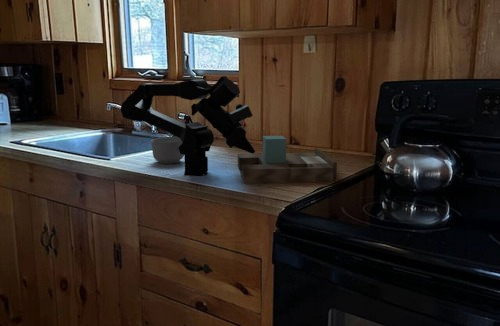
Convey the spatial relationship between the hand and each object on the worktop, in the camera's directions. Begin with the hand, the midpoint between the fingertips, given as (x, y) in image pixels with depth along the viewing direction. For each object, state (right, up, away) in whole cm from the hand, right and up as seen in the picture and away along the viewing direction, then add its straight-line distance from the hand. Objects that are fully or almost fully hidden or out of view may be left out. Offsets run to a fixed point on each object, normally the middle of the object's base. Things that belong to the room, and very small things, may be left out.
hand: (254, 152), depth 138 cm
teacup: (-29, -3, +19) cm, 34 cm away
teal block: (+6, -2, +1) cm, 7 cm away
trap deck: (+9, -6, +2) cm, 11 cm away
